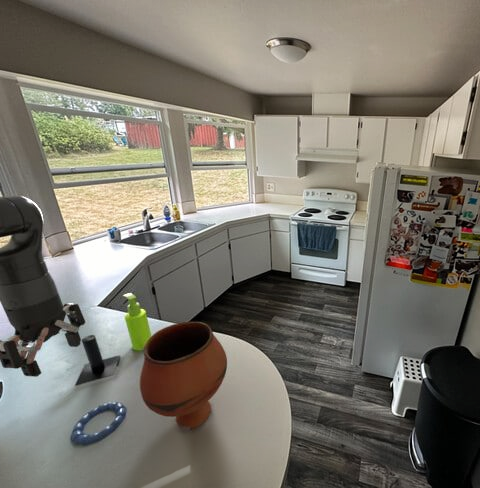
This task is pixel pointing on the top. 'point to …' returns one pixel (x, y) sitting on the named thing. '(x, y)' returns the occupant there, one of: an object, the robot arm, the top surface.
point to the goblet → (182, 372)
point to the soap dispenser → (137, 323)
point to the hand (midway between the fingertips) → (56, 359)
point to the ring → (83, 439)
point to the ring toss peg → (96, 362)
